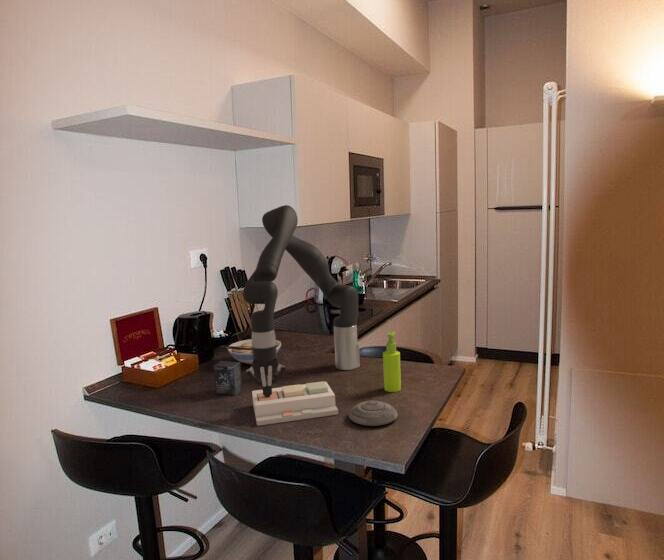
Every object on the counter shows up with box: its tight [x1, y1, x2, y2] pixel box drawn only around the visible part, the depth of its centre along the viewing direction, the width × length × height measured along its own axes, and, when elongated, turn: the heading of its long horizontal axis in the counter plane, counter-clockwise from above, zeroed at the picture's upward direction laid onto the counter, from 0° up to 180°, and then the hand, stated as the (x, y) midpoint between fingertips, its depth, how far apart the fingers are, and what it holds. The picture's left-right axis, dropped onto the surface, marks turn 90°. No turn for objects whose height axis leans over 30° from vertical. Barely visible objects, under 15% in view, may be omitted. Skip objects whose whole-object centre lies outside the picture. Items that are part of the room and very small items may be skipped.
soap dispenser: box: [382, 331, 402, 393], centre depth 174 cm, size 6×7×20 cm
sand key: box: [281, 383, 303, 398], centre depth 162 cm, size 6×6×3 cm
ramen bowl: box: [218, 338, 282, 366], centre depth 212 cm, size 25×23×8 cm
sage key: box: [305, 381, 328, 395], centre depth 164 cm, size 6×6×3 cm
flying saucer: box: [347, 400, 399, 427], centre depth 152 cm, size 15×15×6 cm
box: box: [213, 360, 243, 396], centre depth 179 cm, size 8×6×11 cm
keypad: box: [251, 381, 339, 426], centre depth 161 cm, size 25×16×5 cm, turn 103°
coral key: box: [258, 392, 278, 401], centre depth 160 cm, size 6×6×3 cm
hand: (267, 396), depth 160 cm, fingers closed
